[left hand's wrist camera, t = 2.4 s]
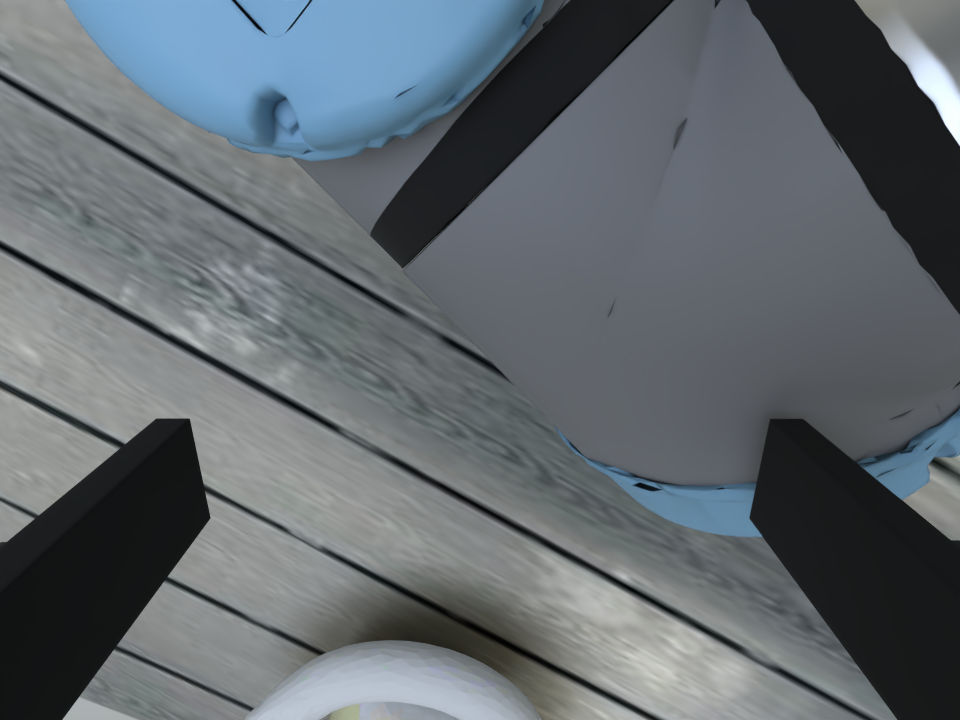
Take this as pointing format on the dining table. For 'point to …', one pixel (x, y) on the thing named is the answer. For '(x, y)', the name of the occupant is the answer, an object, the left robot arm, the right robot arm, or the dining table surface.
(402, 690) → the hat
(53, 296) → the dining table surface
